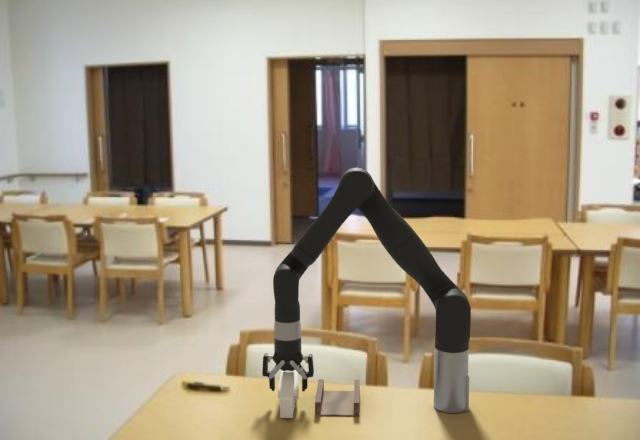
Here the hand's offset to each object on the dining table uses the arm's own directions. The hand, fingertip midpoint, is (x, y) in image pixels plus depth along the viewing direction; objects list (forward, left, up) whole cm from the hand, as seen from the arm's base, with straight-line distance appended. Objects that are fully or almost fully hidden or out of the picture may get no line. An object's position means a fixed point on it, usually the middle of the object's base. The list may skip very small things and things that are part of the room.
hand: (288, 390), depth 203 cm
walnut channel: (-14, -1, -4) cm, 15 cm away
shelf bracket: (0, -1, -5) cm, 5 cm away
